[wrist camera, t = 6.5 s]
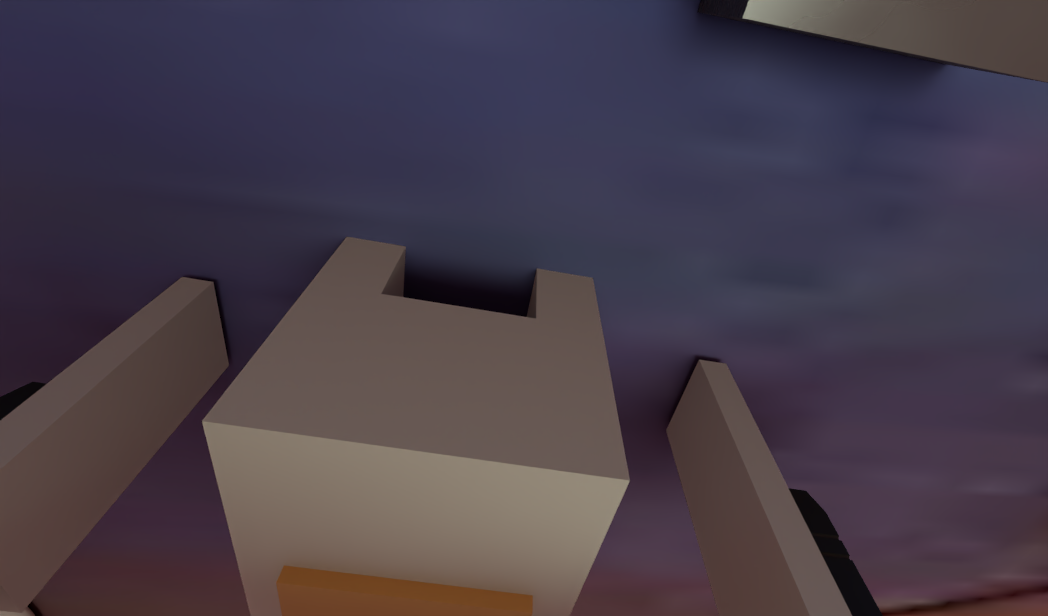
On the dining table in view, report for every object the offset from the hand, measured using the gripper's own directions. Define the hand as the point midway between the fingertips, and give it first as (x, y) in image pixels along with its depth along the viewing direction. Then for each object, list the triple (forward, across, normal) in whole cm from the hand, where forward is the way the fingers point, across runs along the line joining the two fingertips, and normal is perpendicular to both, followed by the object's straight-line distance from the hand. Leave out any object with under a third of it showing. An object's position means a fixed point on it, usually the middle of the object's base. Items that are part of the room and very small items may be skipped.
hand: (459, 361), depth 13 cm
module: (0, 0, 0) cm, 0 cm away
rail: (0, +6, +26) cm, 27 cm away
